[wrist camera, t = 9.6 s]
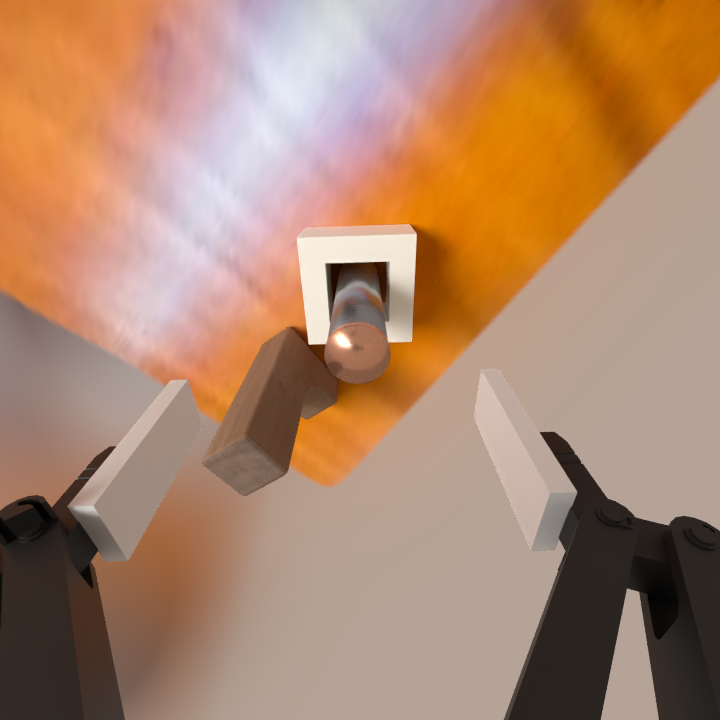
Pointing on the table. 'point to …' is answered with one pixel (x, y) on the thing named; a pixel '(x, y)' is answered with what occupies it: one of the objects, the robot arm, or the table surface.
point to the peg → (357, 326)
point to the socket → (349, 248)
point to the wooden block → (270, 413)
